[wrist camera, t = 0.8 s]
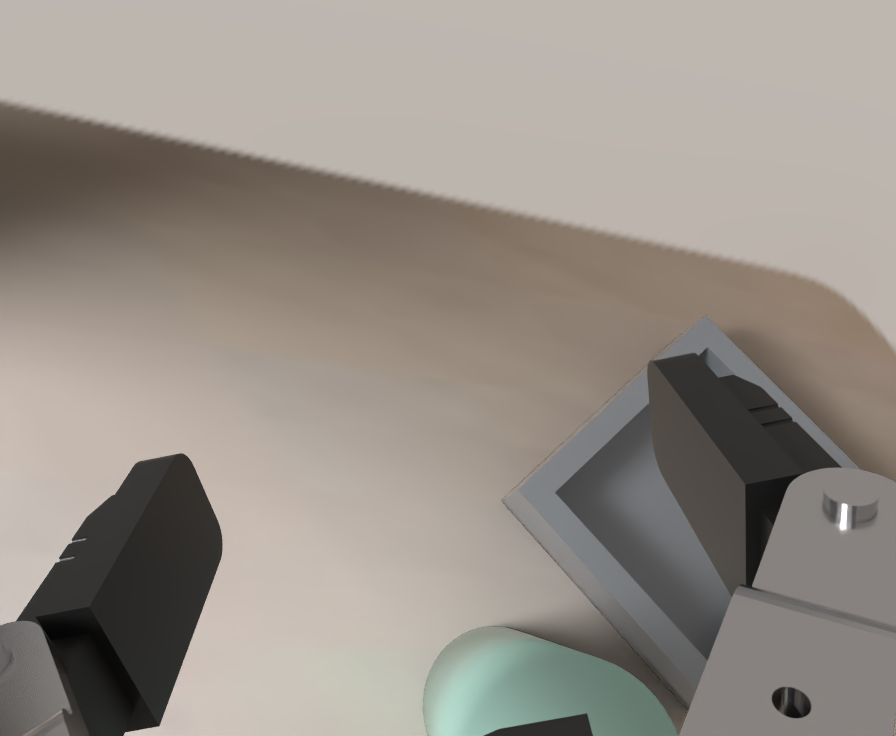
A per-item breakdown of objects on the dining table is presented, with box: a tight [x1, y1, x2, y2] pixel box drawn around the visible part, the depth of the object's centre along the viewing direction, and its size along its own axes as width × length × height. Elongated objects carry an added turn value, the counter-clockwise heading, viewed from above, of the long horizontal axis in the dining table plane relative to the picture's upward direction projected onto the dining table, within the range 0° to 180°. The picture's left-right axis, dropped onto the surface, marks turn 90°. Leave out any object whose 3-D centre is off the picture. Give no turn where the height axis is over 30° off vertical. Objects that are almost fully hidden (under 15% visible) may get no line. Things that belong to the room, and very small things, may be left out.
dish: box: [501, 315, 861, 711], centre depth 28 cm, size 11×11×4 cm
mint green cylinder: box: [423, 626, 679, 736], centre depth 21 cm, size 6×6×11 cm
